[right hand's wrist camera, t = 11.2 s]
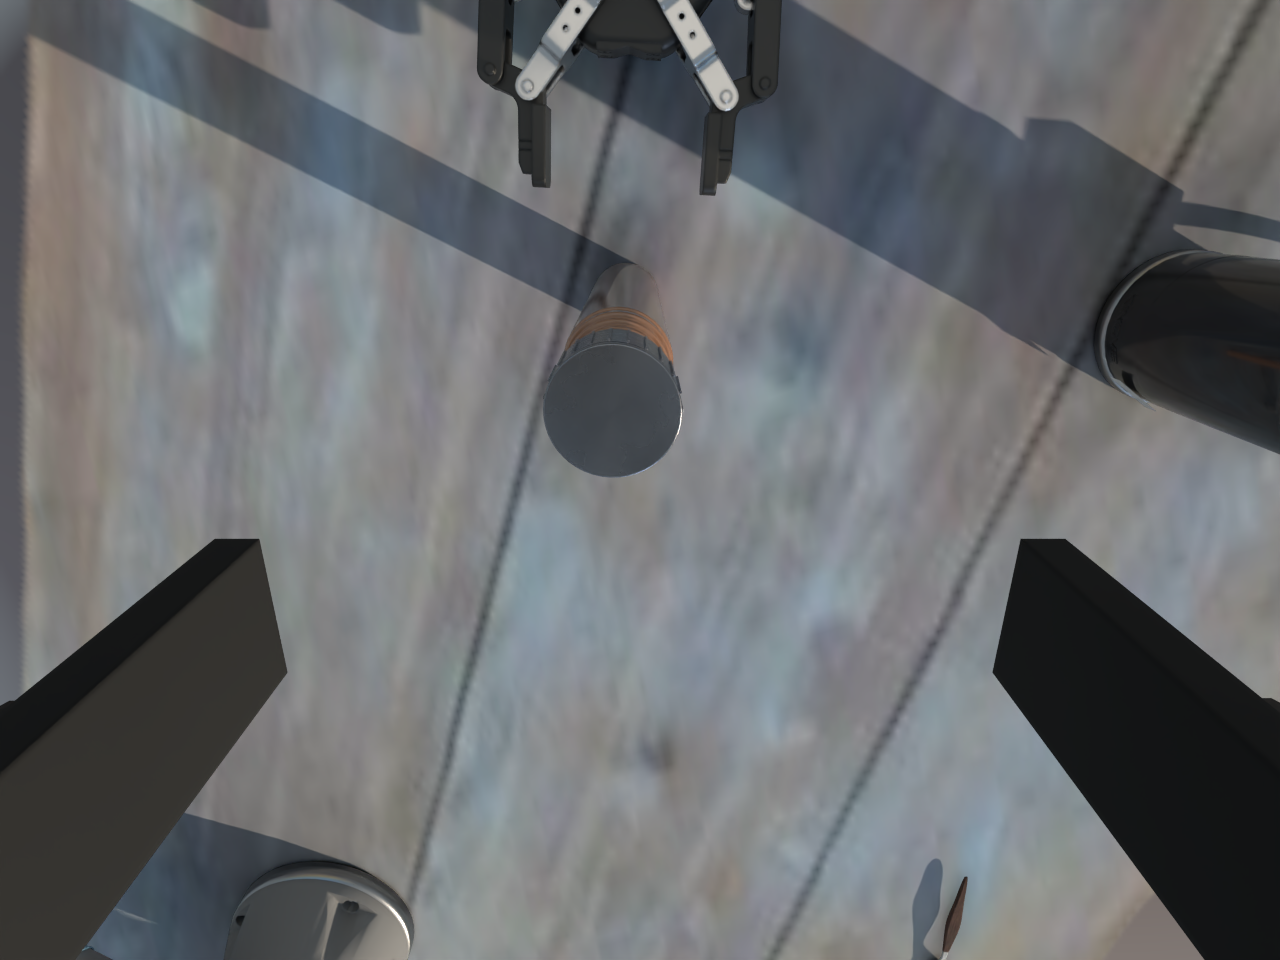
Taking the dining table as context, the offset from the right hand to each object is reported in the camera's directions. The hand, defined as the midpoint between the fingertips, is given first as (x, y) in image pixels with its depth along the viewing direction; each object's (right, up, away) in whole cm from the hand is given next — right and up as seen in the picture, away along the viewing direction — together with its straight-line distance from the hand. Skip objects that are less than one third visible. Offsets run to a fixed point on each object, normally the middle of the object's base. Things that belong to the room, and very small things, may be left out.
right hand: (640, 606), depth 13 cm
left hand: (-1, +17, +25) cm, 30 cm away
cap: (-1, +4, +8) cm, 9 cm away
